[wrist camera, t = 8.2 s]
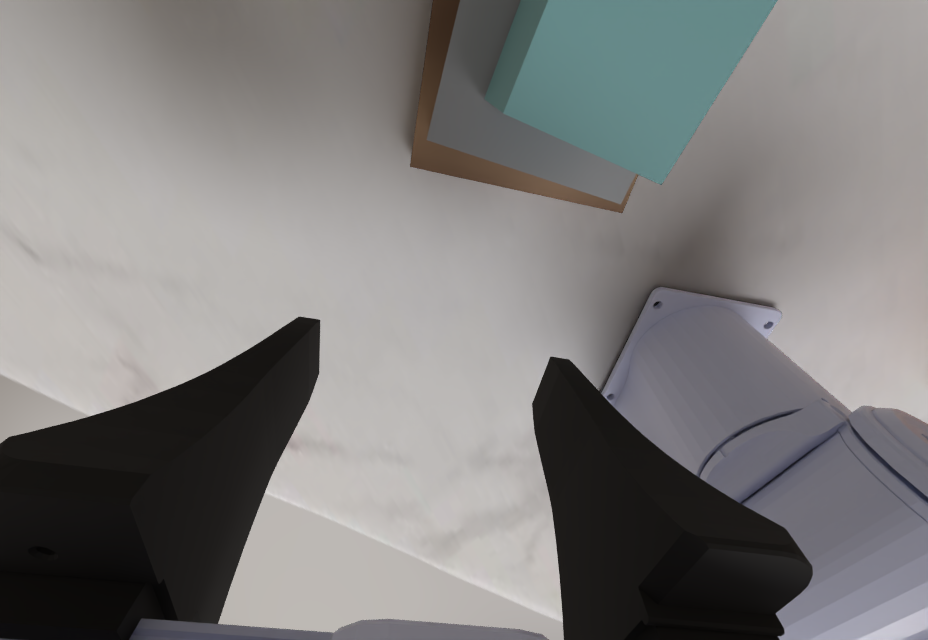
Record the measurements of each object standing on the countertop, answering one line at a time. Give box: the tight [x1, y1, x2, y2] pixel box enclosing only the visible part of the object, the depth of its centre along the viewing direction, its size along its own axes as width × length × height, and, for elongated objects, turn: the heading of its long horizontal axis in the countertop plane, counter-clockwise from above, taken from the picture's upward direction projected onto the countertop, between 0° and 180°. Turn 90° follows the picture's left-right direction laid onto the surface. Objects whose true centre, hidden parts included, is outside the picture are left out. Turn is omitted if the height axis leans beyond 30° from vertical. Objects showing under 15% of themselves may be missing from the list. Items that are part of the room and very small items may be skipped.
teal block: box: [484, 0, 778, 185], centre depth 11 cm, size 4×4×6 cm
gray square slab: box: [427, 0, 636, 204], centre depth 15 cm, size 8×8×2 cm
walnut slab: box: [410, 0, 638, 213], centre depth 17 cm, size 10×10×2 cm
